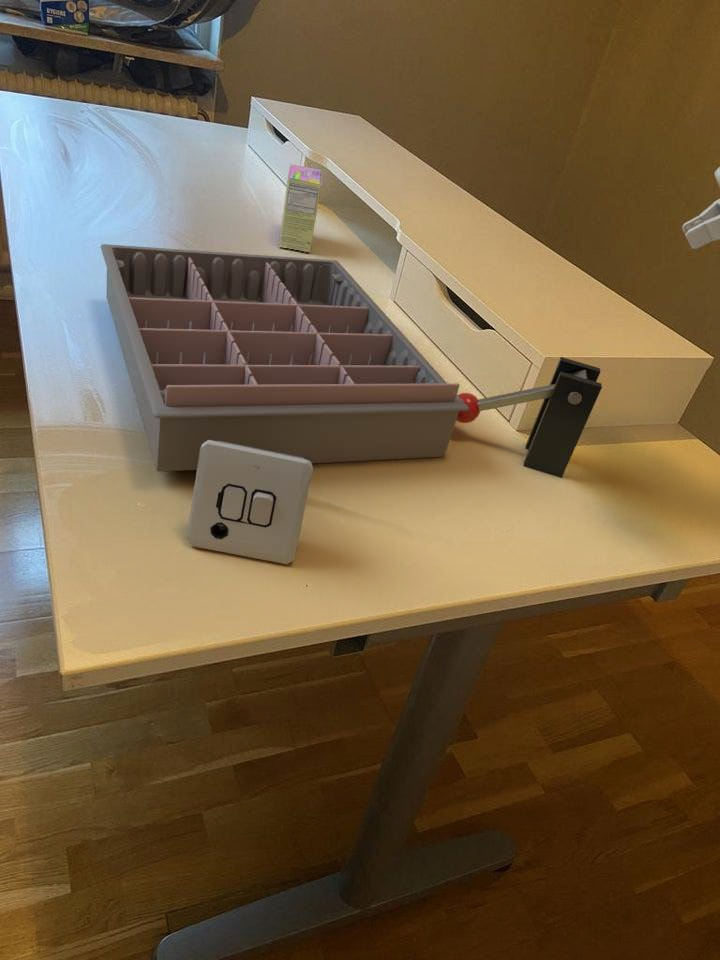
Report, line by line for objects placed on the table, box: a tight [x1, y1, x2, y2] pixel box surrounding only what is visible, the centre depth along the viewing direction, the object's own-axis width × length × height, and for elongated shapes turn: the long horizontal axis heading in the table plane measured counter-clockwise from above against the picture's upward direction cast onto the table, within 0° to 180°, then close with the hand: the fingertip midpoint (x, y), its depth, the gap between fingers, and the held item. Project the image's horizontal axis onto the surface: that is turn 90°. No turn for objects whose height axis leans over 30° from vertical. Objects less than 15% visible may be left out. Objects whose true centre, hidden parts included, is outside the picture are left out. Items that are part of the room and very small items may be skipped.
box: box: [278, 164, 322, 254], centre depth 129 cm, size 10×6×12 cm, turn 2°
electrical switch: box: [186, 440, 314, 565], centre depth 63 cm, size 9×5×9 cm, turn 87°
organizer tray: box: [100, 243, 469, 473], centre depth 86 cm, size 32×40×10 cm
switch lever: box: [456, 370, 588, 424], centre depth 81 cm, size 15×3×3 cm
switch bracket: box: [523, 356, 603, 479], centre depth 81 cm, size 12×10×13 cm
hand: (686, 238), depth 69 cm, fingers closed
